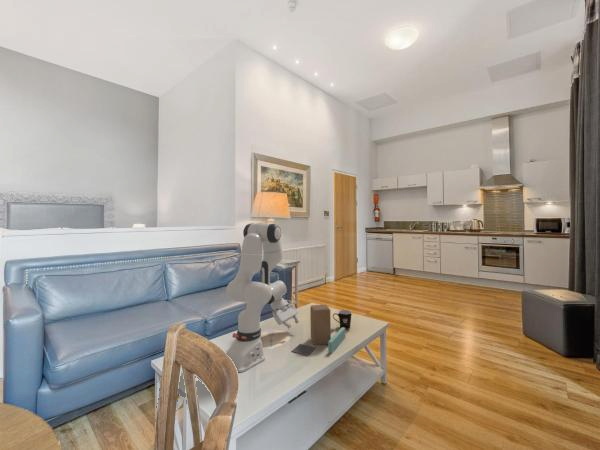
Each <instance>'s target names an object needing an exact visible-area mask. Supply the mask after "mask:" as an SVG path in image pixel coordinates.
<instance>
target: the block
mask: <svg viewBox="0 0 600 450" xmlns="http://www.w3.org/2000/svg"><path fill="white" fill-rule="evenodd" d="M309 308H310V309H309V311H310V312H309V313H310V339H311V341H312V343H313V345H315V346H317V345H328V341H329V340H330V339H331V338H332V336H331V335H332V333H331V329H332V328H331V326H332V325H331V324H332V323H331V309H330V307H329V306H328V305H327V304H312V305H310V307H309Z"/></svg>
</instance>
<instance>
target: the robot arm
mask: <svg viewBox="0 0 600 450" xmlns="http://www.w3.org/2000/svg"><path fill="white" fill-rule="evenodd" d="M242 234H243V241H242V244H241V245H242V246H241V252H240V260H239V261H240V263H239V269H238V270H237V274H236V276H235V277H234V279H232V280H231V281H230V282H229V283H228V284H227V286H226V289H225V293H226V294H225V295H226V296H227V298H228V299H229V300H232V301H235V302H239V303H246V307H245V308H244V309H243V310H241V311H240V312H239V314H238V315H237V316H238V317H237V318H238V319H237V321H238V322H237V323H238V324H237V326H238V327H237V330H236V333H235V332H234V333H232V335H231V336H232V338H235V339H234V341H233V343H232V344H231V345H230V347H229V348H228V350H227V351H226V355H228V356H229V357H230V358H231V359H232V361H233V362H234V364H235V366H236V368H237V371H238V372H237V373H243V372H246V371H247V370H250V369H251V368H253V367H255V366H257V365H258V364H260V363H262V362H264V361H265V360H266V358H265V356H264V349H263V347H264V346H263V341H262V340H261V339H262V338H261V336H262V329H261V313H262V311H263V309H264V307H265V305H269V306H271V308H272V313H271V314H272V316H273V318H274V321H275V322H276V324H277V325H279V326H281V325H283V326H285V327H286V328H287V329H291V328H292V325H291V324H290V323H288V321H289V320H291V319H293V320H294V323H295V324H299V323H300V322H299V319H298V316H297V315H298V314H299V311H298V309H297V308H296V306H294V304H293V303H292V300H288V299H284V298H283V296H284V295H286V293H288V286H287V284H286V283H285V282H284V281H283V280H280V279H279V280H275V281H274V282H271V274H272V271H273V270H274V268H275V267H276V266H277V265H278V264H279V263H280V262H281V260H282V258H283V249H282V248H283V247H282V243H281V240H280V239H281V237H282V230H281V227H280V226H279V225H278V224H276V223H268V222H267V223H264V222H256V223H255V222H254V223H248V224H246V225H245V226H244V229H243V231H242ZM258 273H259V281H253V280H252V279H253V277H254V276H255V275H256V274H258Z"/></svg>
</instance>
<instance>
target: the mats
mask: <svg viewBox="0 0 600 450" xmlns="http://www.w3.org/2000/svg"><path fill="white" fill-rule="evenodd" d="M334 331H335V329H334V328H331V334H332V333H333V332H334ZM316 349H317V347H316V346H311V345H308V344H302V343H299V344H298V345H297V346H296V347H294V348H293V349H292V350H291V352H290V353H295V354H298V355H303V356H306V357H309V356H310V355H311V354H312V353H313V352H314V351H315V350H316Z"/></svg>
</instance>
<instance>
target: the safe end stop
mask: <svg viewBox="0 0 600 450" xmlns="http://www.w3.org/2000/svg"><path fill="white" fill-rule="evenodd" d="M345 339H346V329H345V328H343V327H342V328H341V327H340V329H339V330H338V331H337V332H336V333H335V334H334V335H333V336H331V339H330V340H329V341H328V344H327V346H328V347H327V351H328V352H327V353H328V354H330V355H331V354H333V353H334V352H335V350H336V349H338V347H339V346H340V345H341V344H342V342H343V341H344V340H345ZM340 343H341V344H340Z"/></svg>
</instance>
